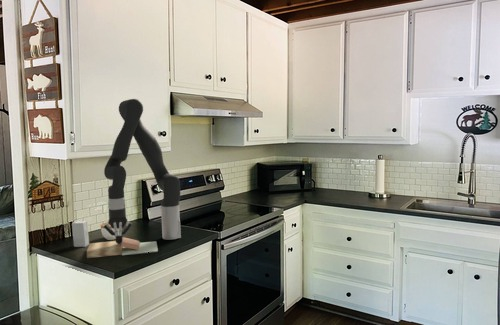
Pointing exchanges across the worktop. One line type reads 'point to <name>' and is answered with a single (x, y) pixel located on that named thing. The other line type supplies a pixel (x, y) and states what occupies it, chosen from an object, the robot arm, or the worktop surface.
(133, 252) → the sage mat
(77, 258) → the worktop surface
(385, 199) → the worktop surface
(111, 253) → the oak board
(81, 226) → the skincare box
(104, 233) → the lidded jar
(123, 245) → the terracotta coaster
